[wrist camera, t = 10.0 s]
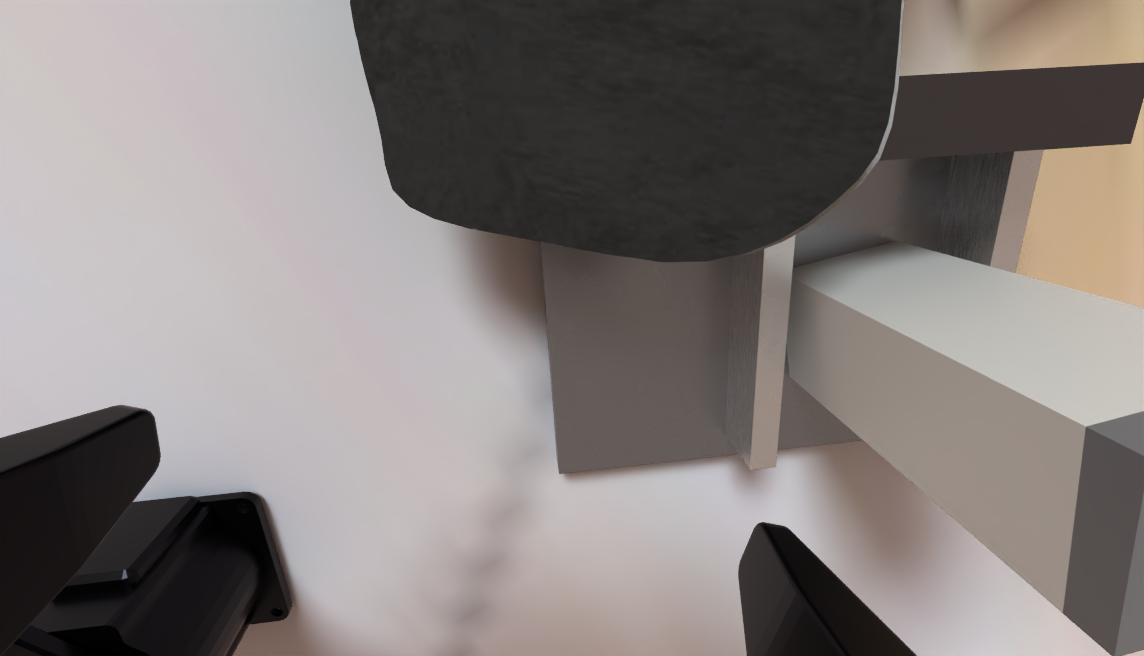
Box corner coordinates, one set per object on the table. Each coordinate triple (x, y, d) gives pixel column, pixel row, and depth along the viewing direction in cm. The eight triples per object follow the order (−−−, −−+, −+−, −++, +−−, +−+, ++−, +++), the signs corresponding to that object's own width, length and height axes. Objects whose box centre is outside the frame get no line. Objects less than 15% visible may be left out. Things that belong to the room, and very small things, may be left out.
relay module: (901, 346, 22) (1354, 591, 10) (789, 376, 22) (1114, 657, 10) (900, 240, 20) (1433, 382, 9) (779, 271, 20) (1149, 458, 8)
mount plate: (909, 421, 24) (1028, 507, 19) (557, 460, 23) (571, 564, 17) (969, 83, 20) (1153, 61, 14) (529, 108, 18) (537, 96, 13)
